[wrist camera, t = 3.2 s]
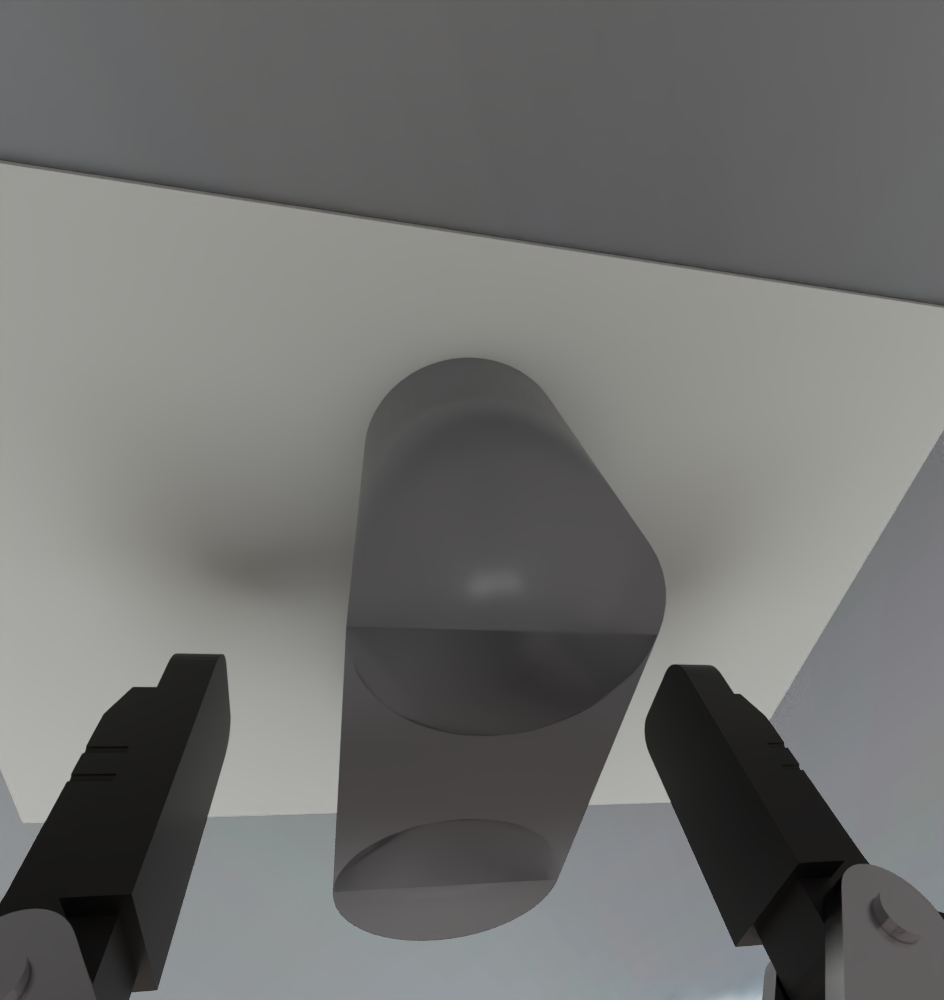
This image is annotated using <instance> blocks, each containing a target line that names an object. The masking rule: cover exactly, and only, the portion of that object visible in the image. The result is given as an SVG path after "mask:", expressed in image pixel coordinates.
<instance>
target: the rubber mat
mask: <svg viewBox="0 0 944 1000" xmlns="http://www.w3.org/2000/svg"><path fill="white" fill-rule="evenodd" d="M456 358H482V359H488V360H493V361H497V362H500V363H503V364H506V365H509V366H511V367H513V368H515V369H517V370H519V371H521V372H522V373H524V374H525V375H527V376H528V377H530V378H531V379H532V380H533V381H534V382H535V383H536V384H537V385H539V386H540V387H541V389H542V390H543V391H544V392H545V393H546V395H547V396H548V397H549V399H550V400H551V402H552V403H553V405H554V406H555V407H556V409H557V410H558V412H559V413H560V415H561V416H562V418H563V419H564V420H565V422H566V423H567V425H568V426H569V428H570V429H571V431H572V432H573V433H574V435H575V436H576V438H577V439H578V441H579V442H580V444H581V445H582V446H583V448H584V449H585V451H586V452H587V454H588V455H589V457H590V458H591V459H592V461H593V462H594V464H595V465H596V467H597V468H598V470H599V471H600V472H601V474H602V475H603V477H604V478H605V480H606V481H607V483H608V484H609V485H610V487H611V488H612V490H613V491H614V493H615V494H616V496H617V497H618V498H619V500H620V501H621V503H622V504H623V506H624V507H625V509H626V510H627V512H628V513H629V514H630V516H631V517H632V519H633V520H634V522H635V523H636V525H637V526H638V527H639V529H640V530H641V532H642V533H643V535H644V536H645V538H646V539H647V540H648V542H649V543H650V545H651V547H652V548H653V550H654V552H655V554H656V555H657V557H658V559H659V562H660V565H661V568H662V570H663V574H664V580H665V585H666V606H665V612H664V618H663V622H662V625H661V628H660V631H659V634H658V637H657V639H656V641H655V644H654V646H653V649H652V651H651V654H650V656H649V658H648V661H647V663H646V666H645V668H644V671H643V673H642V675H641V678H640V680H639V683H638V685H637V688H636V690H635V692H634V695H633V697H632V700H631V702H630V704H629V707H628V709H627V712H626V714H625V717H624V719H623V721H622V724H621V726H620V729H619V731H618V734H617V736H616V738H615V741H614V743H613V746H612V748H611V751H610V753H609V755H608V758H607V760H606V763H605V765H604V768H603V770H602V772H601V775H600V777H599V780H598V782H597V785H596V787H595V789H594V792H593V794H592V797H591V799H590V802H589V804H588V805H604V804H635V803H666V802H671V801H670V799H669V797H668V795H667V792H666V790H665V788H664V786H663V783H662V781H661V779H660V777H659V775H658V772H657V770H656V768H655V766H654V763H653V761H652V759H651V757H650V754H649V752H648V749H647V746H646V741H645V732H644V728H645V720H646V717H647V714H648V712H649V709H650V707H651V705H652V703H653V700H654V698H655V696H656V693H657V691H658V689H659V686H660V684H661V682H662V679H663V677H664V675H665V672H666V670H667V669H668V667H669V666H671V665H673V664H688V665H712V666H714V667H715V668H717V669H718V670H719V672H720V673H721V674H722V676H723V677H724V679H725V680H726V682H727V683H728V685H729V686H730V688H731V689H732V691H733V692H734V694H741V695H742V696H744V697H745V698H746V699H747V700H748V701H749V702H750V703H751V704H753V705H754V706H755V707H756V708H757V709H758V710H759V711H760V712H762V713H763V714H764V715H765V716H766V717H767V719H768V720H770V718H771V717H772V715H773V713H774V712H775V710H776V708H777V707H778V705H779V703H780V702H781V700H782V698H783V697H784V695H785V693H786V692H787V690H788V688H789V687H790V685H791V683H792V682H793V680H794V678H795V677H796V675H797V673H798V672H799V670H800V668H801V667H802V665H803V663H804V662H805V660H806V658H807V657H808V655H809V653H810V652H811V650H812V648H813V647H814V645H815V643H816V642H817V640H818V638H819V637H820V635H821V633H822V632H823V630H824V629H825V627H826V625H827V624H828V622H829V620H830V619H831V617H832V615H833V614H834V612H835V610H836V609H837V607H838V605H839V604H840V602H841V600H842V599H843V597H844V595H845V594H846V592H847V590H848V589H849V587H850V585H851V584H852V582H853V580H854V579H855V577H856V575H857V574H858V572H859V570H860V569H861V567H862V565H863V564H864V562H865V560H866V559H867V557H868V555H869V554H870V552H871V550H872V549H873V547H874V545H875V544H876V542H877V540H878V539H879V537H880V535H881V534H882V532H883V530H884V529H885V527H886V525H887V524H888V522H889V520H890V519H891V517H892V515H893V514H894V512H895V510H896V509H897V507H898V505H899V504H900V502H901V500H902V499H903V497H904V495H905V494H906V492H907V490H908V489H909V487H910V485H911V484H912V482H913V480H914V479H915V477H916V475H917V474H918V472H919V470H920V469H921V467H922V465H923V464H924V462H925V460H926V459H927V457H928V455H929V454H930V452H931V450H932V449H933V447H934V445H935V444H936V442H937V440H938V439H939V437H940V435H941V434H942V432H943V430H944V306H942V305H936V304H929V303H923V302H916V301H910V300H903V299H897V298H890V297H884V296H877V295H871V294H864V293H858V292H851V291H845V290H839V289H832V288H826V287H819V286H813V285H806V284H800V283H793V282H787V281H780V280H774V279H767V278H761V277H754V276H748V275H741V274H735V273H728V272H722V271H715V270H709V269H702V268H696V267H689V266H683V265H676V264H670V263H663V262H657V261H650V260H644V259H638V258H631V257H625V256H618V255H612V254H605V253H599V252H592V251H586V250H579V249H573V248H566V247H560V246H553V245H547V244H540V243H534V242H527V241H521V240H514V239H508V238H501V237H495V236H488V235H482V234H475V233H469V232H462V231H456V230H449V229H443V228H437V227H430V226H424V225H417V224H411V223H404V222H398V221H391V220H385V219H378V218H372V217H365V216H359V215H352V214H346V213H339V212H333V211H326V210H320V209H313V208H307V207H300V206H294V205H287V204H281V203H274V202H268V201H261V200H255V199H248V198H242V197H236V196H229V195H223V194H216V193H210V192H203V191H197V190H190V189H184V188H177V187H171V186H164V185H158V184H151V183H145V182H138V181H132V180H125V179H119V178H112V177H106V176H99V175H93V174H86V173H80V172H73V171H67V170H60V169H54V168H47V167H41V166H35V165H28V164H22V163H15V162H9V161H2V160H0V769H1V772H2V774H3V777H4V779H5V781H6V784H7V786H8V789H9V791H10V793H11V796H12V798H13V801H14V803H15V805H16V808H17V810H18V813H19V815H20V817H21V820H22V822H23V823H42V822H45V821H46V819H47V817H48V815H49V814H50V812H51V810H52V808H53V806H54V804H55V803H56V801H57V799H58V797H59V795H60V793H61V791H62V790H63V788H64V786H65V784H66V782H67V781H70V778H71V773H72V771H73V769H74V767H75V766H76V764H77V762H78V760H79V758H80V756H81V755H82V753H85V750H86V745H87V744H88V742H89V740H90V738H91V736H92V734H93V732H94V731H95V729H96V727H97V725H98V723H99V721H100V720H101V718H102V716H103V714H104V713H105V712H106V711H107V710H108V709H109V708H111V707H112V706H113V705H114V704H115V703H116V702H117V701H118V700H119V699H120V698H121V697H122V696H123V695H125V694H126V693H127V692H128V691H129V690H130V689H131V688H132V687H157V686H158V683H159V681H160V679H161V677H162V675H163V673H164V671H165V668H166V666H167V664H168V662H169V660H170V658H171V657H172V656H173V655H174V654H175V653H187V654H224V656H225V658H226V665H227V677H228V689H229V701H230V713H231V724H230V734H229V741H228V747H227V751H226V755H225V759H224V762H223V766H222V769H221V772H220V776H219V779H218V783H217V786H216V790H215V793H214V796H213V800H212V803H211V807H210V810H209V814H208V817H229V816H260V815H292V814H323V813H337V801H338V780H339V760H340V740H341V720H342V700H343V680H344V660H345V640H346V623H347V613H348V604H349V594H350V584H351V574H352V565H353V555H354V545H355V535H356V526H357V516H358V506H359V496H360V487H361V477H362V467H363V457H364V448H365V440H366V434H367V431H368V427H369V424H370V421H371V419H372V417H373V415H374V413H375V411H376V409H377V408H378V406H379V404H380V403H381V401H382V400H383V399H384V398H385V396H386V395H387V394H388V393H389V392H390V390H391V389H393V388H394V387H395V386H396V385H397V384H398V383H399V382H400V381H402V380H403V379H404V378H406V377H407V376H409V375H410V374H412V373H413V372H415V371H417V370H419V369H421V368H423V367H425V366H428V365H431V364H434V363H437V362H440V361H444V360H449V359H456Z"/></svg>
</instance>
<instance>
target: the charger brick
mask: <svg viewBox="0 0 944 1000" xmlns="http://www.w3.org/2000/svg"><path fill="white" fill-rule="evenodd" d="M665 606H666V585H665V580H664V574H663V570H662V568H661V565H660V562H659V559H658V557H657V555H656V554H655V552H654V550H653V548H652V547H651V545H650V543H649V542H648V540H647V539H646V538H645V536H644V535H643V533H642V532H641V530H640V529H639V527H638V526H637V525H636V523H635V522H634V520H633V519H632V517H631V516H630V514H629V513H628V512H627V510H626V509H625V507H624V506H623V504H622V503H621V501H620V500H619V498H618V497H617V496H616V494H615V493H614V491H613V490H612V488H611V487H610V485H609V484H608V483H607V481H606V480H605V478H604V477H603V475H602V474H601V472H600V471H599V470H598V468H597V467H596V465H595V464H594V462H593V461H592V459H591V458H590V457H589V455H588V454H587V452H586V451H585V449H584V448H583V446H582V445H581V444H580V442H579V441H578V439H577V438H576V436H575V435H574V433H573V432H572V431H571V429H570V428H569V426H568V425H567V423H566V422H565V420H564V419H563V418H562V416H561V415H560V413H559V412H558V410H557V409H556V407H555V406H554V405H553V403H552V402H551V400H550V399H549V397H548V396H547V395H546V393H545V392H544V391H543V390H542V389H541V387H540V386H539V385H537V384H536V383H535V382H534V381H533V380H532V379H531V378H530V377H528V376H527V375H525V374H524V373H522V372H521V371H519V370H517V369H515V368H513V367H511V366H509V365H506V364H503V363H500V362H497V361H493V360H488V359H482V358H456V359H449V360H444V361H440V362H437V363H434V364H431V365H428V366H425V367H423V368H421V369H419V370H417V371H415V372H413V373H412V374H410V375H409V376H407V377H406V378H404V379H403V380H402V381H400V382H399V383H398V384H397V385H396V386H395V387H394V388H393V389H391V390H390V392H389V393H388V394H387V395H386V396H385V398H384V399H383V400H382V401H381V403H380V404H379V406H378V408H377V409H376V411H375V413H374V415H373V417H372V419H371V421H370V424H369V427H368V431H367V434H366V440H365V448H364V457H363V467H362V477H361V487H360V496H359V506H358V516H357V526H356V535H355V545H354V555H353V565H352V574H351V584H350V594H349V604H348V613H347V623H346V640H345V660H344V680H343V700H342V720H341V740H340V760H339V780H338V801H337V821H336V841H335V861H334V881H333V899H334V903H335V905H336V908H337V909H338V911H339V912H340V914H341V915H342V916H343V917H344V918H345V919H346V920H347V921H348V922H350V923H351V924H353V925H354V926H356V927H358V928H360V929H362V930H364V931H366V932H369V933H372V934H375V935H379V936H382V937H387V938H393V939H400V940H413V941H428V940H443V939H451V938H457V937H463V936H467V935H472V934H476V933H480V932H483V931H486V930H490V929H492V928H495V927H498V926H500V925H503V924H505V923H507V922H509V921H512V920H514V919H516V918H517V917H519V916H521V915H523V914H524V913H526V912H527V911H529V910H531V909H532V908H533V907H535V906H536V905H537V904H538V903H540V902H541V901H542V900H543V899H544V898H545V897H546V896H547V895H548V894H549V892H550V891H551V890H552V888H553V887H554V885H555V883H556V881H557V879H558V877H559V874H560V872H561V870H562V867H563V865H564V862H565V860H566V857H567V855H568V853H569V850H570V848H571V845H572V843H573V840H574V838H575V836H576V833H577V831H578V828H579V826H580V823H581V821H582V819H583V816H584V814H585V811H586V809H587V806H588V804H589V802H590V799H591V797H592V794H593V792H594V789H595V787H596V785H597V782H598V780H599V777H600V775H601V772H602V770H603V768H604V765H605V763H606V760H607V758H608V755H609V753H610V751H611V748H612V746H613V743H614V741H615V738H616V736H617V734H618V731H619V729H620V726H621V724H622V721H623V719H624V717H625V714H626V712H627V709H628V707H629V704H630V702H631V700H632V697H633V695H634V692H635V690H636V688H637V685H638V683H639V680H640V678H641V675H642V673H643V671H644V668H645V666H646V663H647V661H648V658H649V656H650V654H651V651H652V649H653V646H654V644H655V641H656V639H657V637H658V634H659V631H660V628H661V625H662V622H663V618H664V612H665Z"/></svg>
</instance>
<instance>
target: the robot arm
mask: <svg viewBox="0 0 944 1000" xmlns="http://www.w3.org/2000/svg"><path fill="white" fill-rule="evenodd" d="M230 724H231V713H230V701H229V689H228V677H227V665H226V658H225V656H224V654H187V653H175V654H174V655H173V656H172V657H171V658H170V660H169V662H168V664H167V666H166V668H165V671H164V673H163V675H162V677H161V679H160V681H159V683H158V686H157V687H132V688H131V689H130V690H129V691H128V692H127V693H126V694H125V695H123V696H122V697H121V698H120V699H119V700H118V701H117V702H116V703H115V704H114V705H113V706H112V707H111V708H109V709H108V710H107V711H106V712H105V713H104V714H103V716H102V718H101V720H100V721H99V723H98V725H97V727H96V729H95V731H94V732H93V734H92V736H91V738H90V740H89V742H88V744H87V745H86V750H85V753H82V755H81V756H80V758H79V760H78V762H77V764H76V766H75V767H74V769H73V771H72V773H71V778H70V781H67V782H66V784H65V786H64V788H63V790H62V791H61V793H60V795H59V797H58V799H57V801H56V803H55V804H54V806H53V808H52V810H51V812H50V814H49V815H48V817H47V819H46V821H45V823H44V825H43V827H42V828H41V830H40V832H39V834H38V836H37V838H36V839H35V841H34V843H33V845H32V847H31V849H30V851H29V852H28V854H27V856H26V858H25V860H24V862H23V863H22V865H21V867H20V869H19V871H18V873H17V874H16V876H15V878H14V880H13V882H12V884H11V886H10V887H9V889H8V891H7V893H6V894H5V896H4V898H3V899H2V901H1V903H0V1000H129V998H130V995H131V992H140V991H153V990H157V989H158V985H159V982H160V979H161V975H162V972H163V968H164V965H165V961H166V958H167V955H168V951H169V948H170V944H171V941H172V937H173V934H174V930H175V927H176V924H177V920H178V917H179V913H180V910H181V906H182V903H183V900H184V896H185V893H186V889H187V886H188V882H189V879H190V876H191V872H192V869H193V865H194V862H195V858H196V855H197V851H198V848H199V845H200V841H201V838H202V834H203V831H204V827H205V824H206V821H207V817H208V814H209V810H210V807H211V803H212V800H213V796H214V793H215V790H216V786H217V783H218V779H219V776H220V772H221V769H222V766H223V762H224V759H225V755H226V751H227V747H228V741H229V734H230ZM644 732H645V741H646V746H647V749H648V752H649V754H650V757H651V759H652V761H653V763H654V766H655V768H656V770H657V772H658V775H659V777H660V779H661V781H662V783H663V786H664V788H665V790H666V792H667V795H668V797H669V799H670V801H671V804H672V806H673V808H674V810H675V813H676V815H677V817H678V819H679V822H680V824H681V826H682V828H683V830H684V833H685V835H686V837H687V839H688V842H689V844H690V846H691V848H692V851H693V853H694V855H695V857H696V860H697V862H698V864H699V866H700V869H701V871H702V873H703V875H704V877H705V880H706V882H707V884H708V886H709V889H710V891H711V893H712V895H713V898H714V900H715V902H716V904H717V907H718V909H719V911H720V913H721V916H722V918H723V920H724V922H725V924H726V927H727V929H728V931H729V933H730V936H731V938H732V940H733V942H734V945H735V947H739V946H752V945H763V946H764V948H765V950H766V952H767V954H768V956H769V958H770V960H771V961H770V962H769V963H768V965H767V967H766V970H765V975H764V986H763V998H762V1000H944V913H941V912H938V911H937V910H936V909H935V908H934V907H933V905H932V904H931V903H930V902H929V901H928V900H927V899H926V898H925V897H924V896H923V895H922V894H921V893H920V892H919V891H918V890H917V889H915V888H914V887H913V886H912V885H911V884H909V883H908V882H906V881H905V880H904V879H902V878H901V877H899V876H897V875H896V874H894V873H892V872H890V871H888V870H886V869H884V868H881V867H878V866H875V865H870V864H869V863H868V862H867V860H866V859H865V858H864V856H863V855H862V854H861V852H860V851H859V849H858V848H857V847H856V845H855V844H854V842H853V841H852V839H851V838H850V837H849V835H848V834H847V832H846V831H845V829H844V828H843V826H842V825H841V824H840V822H839V821H838V819H837V818H836V816H835V815H834V814H833V812H832V811H831V809H830V808H829V806H828V805H827V803H826V802H825V801H824V799H823V798H822V796H821V795H820V793H819V792H818V791H817V789H816V788H815V786H814V785H813V783H812V782H811V780H810V779H809V778H808V776H807V775H806V773H805V772H804V770H800V768H799V763H798V762H797V760H796V759H795V757H794V756H793V755H792V753H791V752H790V750H789V749H788V748H785V747H784V742H783V740H782V739H781V737H780V736H779V734H778V733H777V732H776V730H775V729H774V727H773V726H772V724H771V723H770V722H769V720H768V719H767V717H766V716H765V715H764V714H763V713H762V712H760V711H759V710H758V709H757V708H756V707H755V706H754V705H753V704H751V703H750V702H749V701H748V700H747V699H746V698H745V697H744V696H742V695H741V694H734V692H733V691H732V689H731V688H730V686H729V685H728V683H727V682H726V680H725V679H724V677H723V676H722V674H721V673H720V672H719V670H718V669H717V668H715V667H714V666H712V665H688V664H673V665H671V666H669V667H668V669H667V670H666V672H665V675H664V677H663V679H662V682H661V684H660V686H659V689H658V691H657V693H656V696H655V698H654V700H653V703H652V705H651V707H650V709H649V712H648V714H647V717H646V720H645V728H644Z"/></svg>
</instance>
